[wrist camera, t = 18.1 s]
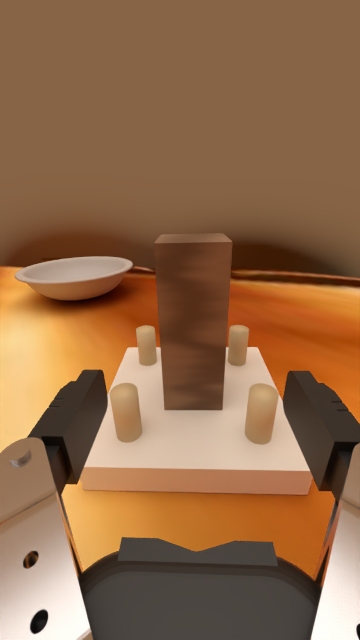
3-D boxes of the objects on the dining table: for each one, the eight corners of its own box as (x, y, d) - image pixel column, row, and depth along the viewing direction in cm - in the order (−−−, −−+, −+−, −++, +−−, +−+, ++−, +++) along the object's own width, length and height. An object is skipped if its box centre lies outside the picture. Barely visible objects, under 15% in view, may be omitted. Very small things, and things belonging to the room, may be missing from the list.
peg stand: (255, 364, 33) (260, 317, 30) (307, 494, 18) (327, 426, 15) (129, 364, 33) (124, 318, 31) (83, 490, 19) (64, 423, 16)
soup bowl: (156, 290, 62) (154, 262, 59) (64, 326, 44) (55, 290, 41) (93, 276, 75) (90, 253, 72) (3, 300, 57) (-6, 271, 55)
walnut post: (216, 374, 27) (222, 233, 21) (222, 410, 22) (232, 241, 16) (168, 375, 27) (161, 234, 21) (164, 410, 22) (153, 243, 17)
